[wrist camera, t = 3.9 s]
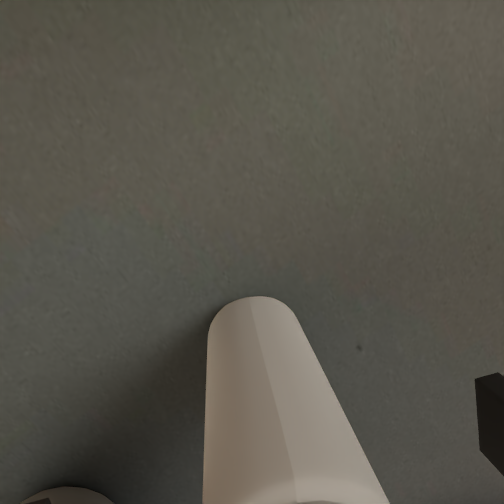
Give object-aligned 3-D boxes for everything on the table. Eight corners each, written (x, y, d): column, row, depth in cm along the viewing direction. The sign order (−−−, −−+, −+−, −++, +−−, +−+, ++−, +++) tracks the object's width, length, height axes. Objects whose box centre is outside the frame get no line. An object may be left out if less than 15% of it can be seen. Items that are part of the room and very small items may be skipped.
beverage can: (276, 384, 21) (356, 681, 9) (194, 357, 20) (166, 651, 8) (313, 308, 20) (456, 533, 8) (228, 277, 19) (253, 480, 7)
